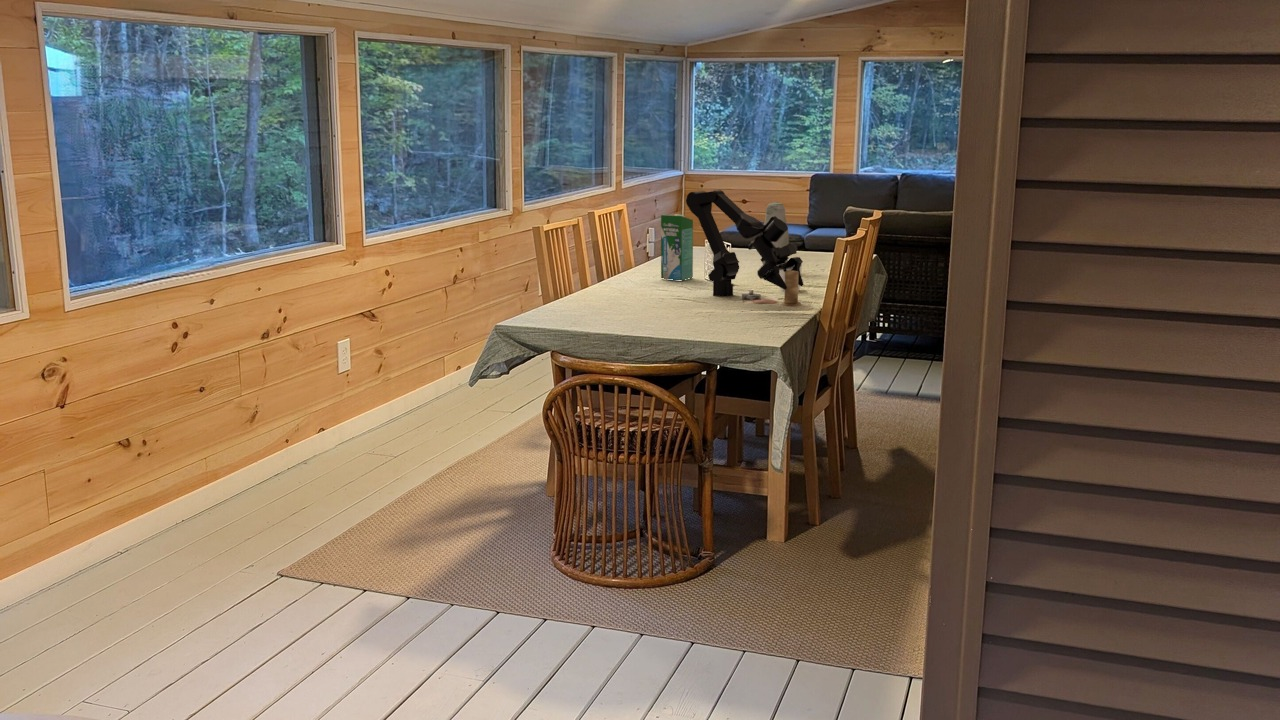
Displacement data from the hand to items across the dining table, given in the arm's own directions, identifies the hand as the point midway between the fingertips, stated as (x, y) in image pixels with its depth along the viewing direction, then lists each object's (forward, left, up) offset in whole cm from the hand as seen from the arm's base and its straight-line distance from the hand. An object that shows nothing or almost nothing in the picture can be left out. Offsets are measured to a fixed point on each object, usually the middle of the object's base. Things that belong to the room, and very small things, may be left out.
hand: (794, 287), depth 371 cm
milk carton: (-42, +61, -7) cm, 74 cm away
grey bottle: (-4, +79, -7) cm, 79 cm away
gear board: (-11, +8, -7) cm, 15 cm away
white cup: (0, +31, -7) cm, 32 cm away
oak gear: (-1, +1, -7) cm, 7 cm away
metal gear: (-14, +11, -6) cm, 19 cm away
